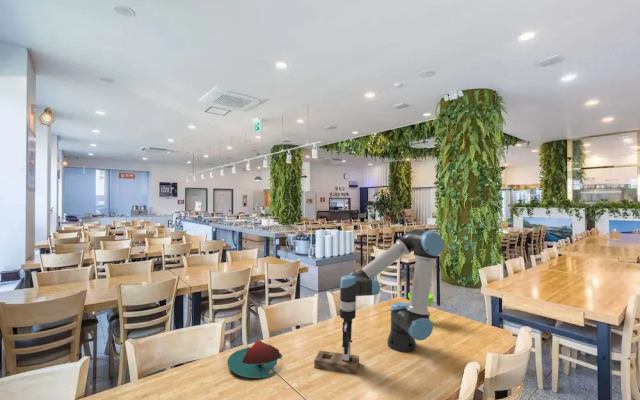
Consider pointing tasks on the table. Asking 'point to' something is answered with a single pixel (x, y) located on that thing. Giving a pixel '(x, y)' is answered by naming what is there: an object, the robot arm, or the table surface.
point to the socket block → (336, 362)
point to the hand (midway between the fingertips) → (346, 358)
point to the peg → (349, 353)
